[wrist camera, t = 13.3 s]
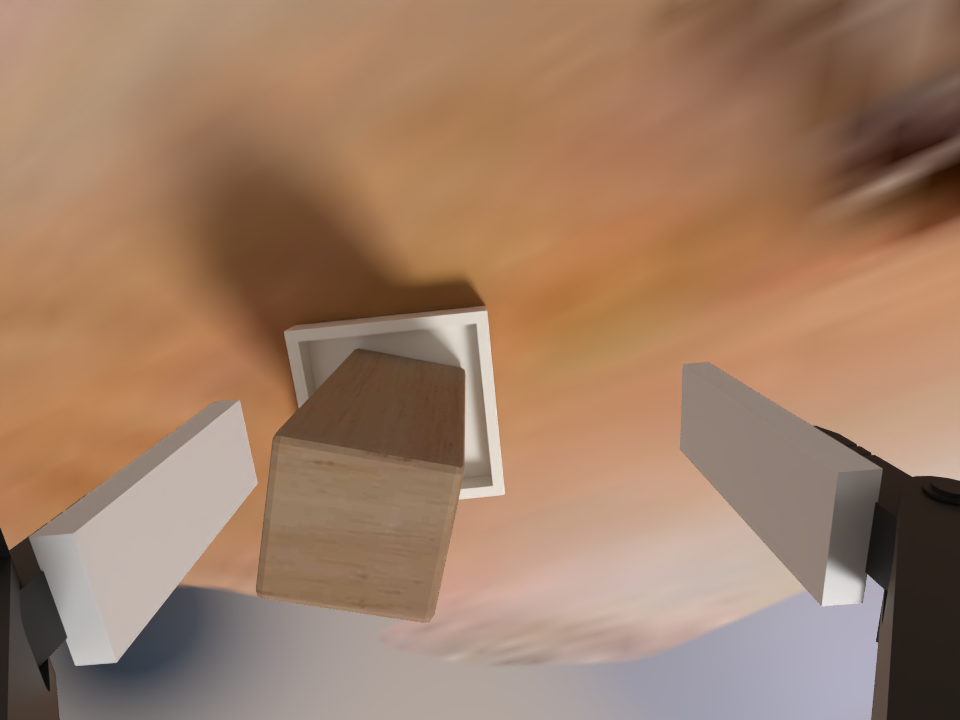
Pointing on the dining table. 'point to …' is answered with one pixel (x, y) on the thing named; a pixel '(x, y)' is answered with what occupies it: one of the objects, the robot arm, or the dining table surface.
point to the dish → (424, 338)
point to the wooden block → (366, 489)
